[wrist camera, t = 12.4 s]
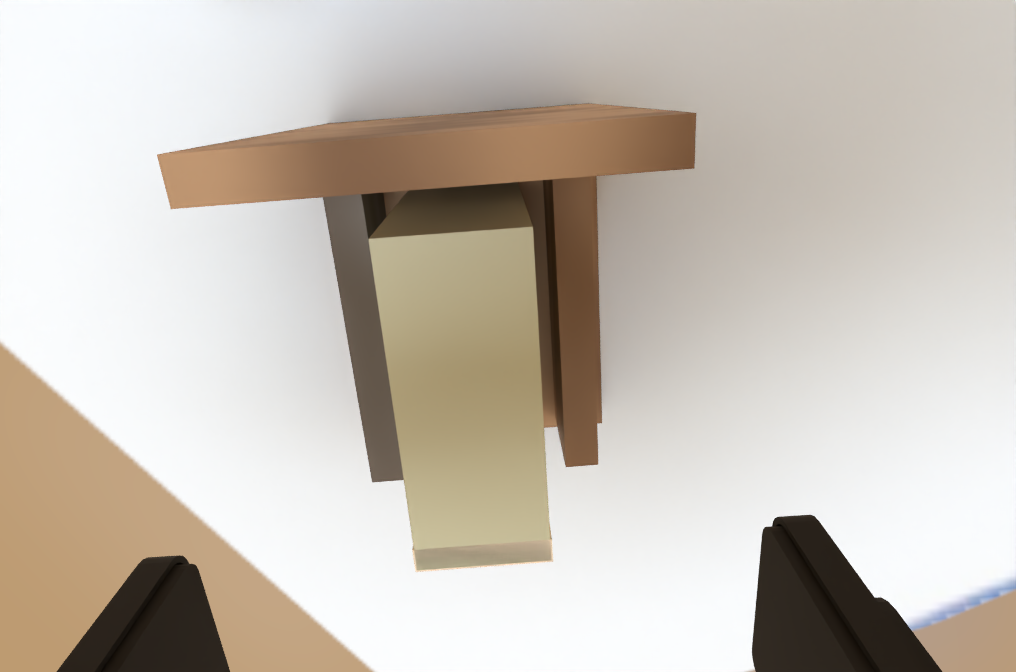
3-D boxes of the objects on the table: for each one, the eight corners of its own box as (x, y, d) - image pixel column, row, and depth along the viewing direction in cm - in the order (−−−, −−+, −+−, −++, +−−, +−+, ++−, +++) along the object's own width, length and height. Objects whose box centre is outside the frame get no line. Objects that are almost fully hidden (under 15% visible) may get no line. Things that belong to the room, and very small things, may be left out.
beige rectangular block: (518, 180, 24) (534, 226, 16) (532, 418, 28) (552, 561, 19) (408, 188, 24) (366, 238, 16) (437, 425, 28) (415, 571, 19)
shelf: (588, 103, 24) (695, 113, 12) (596, 407, 29) (679, 646, 16) (327, 123, 24) (156, 154, 12) (376, 424, 29) (291, 677, 16)
